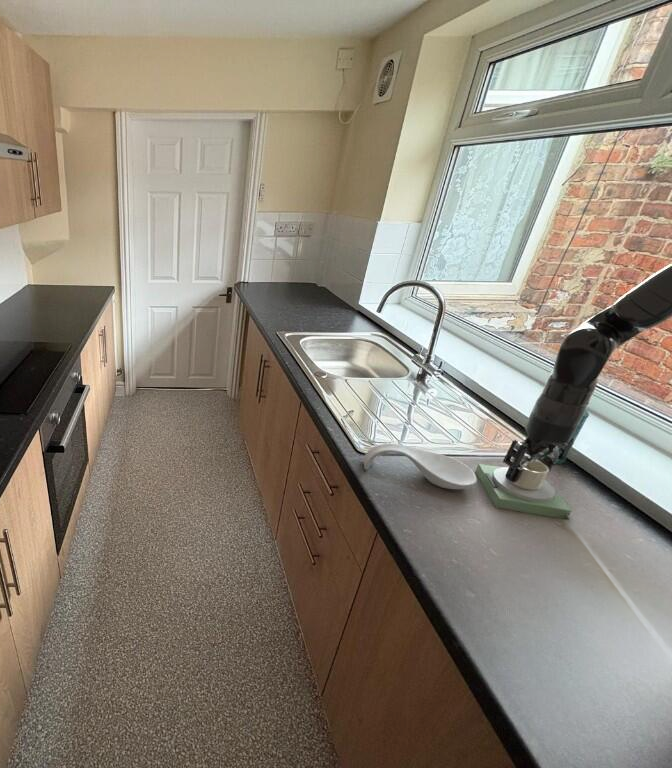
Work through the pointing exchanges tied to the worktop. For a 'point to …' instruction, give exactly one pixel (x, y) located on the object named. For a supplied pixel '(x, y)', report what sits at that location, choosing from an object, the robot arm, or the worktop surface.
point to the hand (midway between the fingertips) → (525, 477)
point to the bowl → (532, 475)
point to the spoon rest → (429, 465)
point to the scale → (521, 494)
